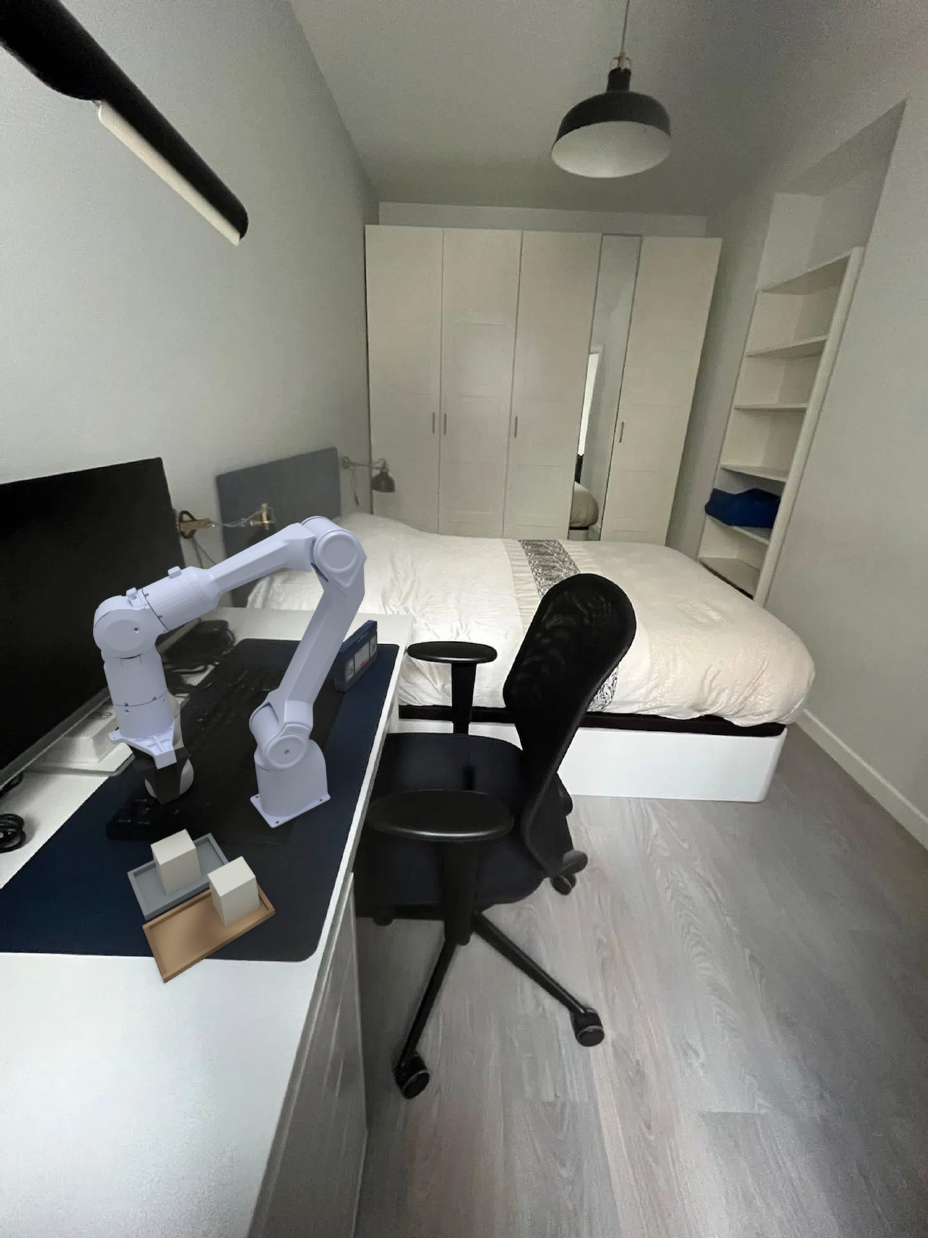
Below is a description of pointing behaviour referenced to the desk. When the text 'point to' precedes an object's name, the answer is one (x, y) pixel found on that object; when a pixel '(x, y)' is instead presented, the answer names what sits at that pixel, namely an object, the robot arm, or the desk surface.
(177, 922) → the walnut tray
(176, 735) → the plastic bottle
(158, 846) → the white block
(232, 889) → the stone
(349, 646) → the vhs cassette tape
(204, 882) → the charcoal tray
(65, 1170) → the desk surface
